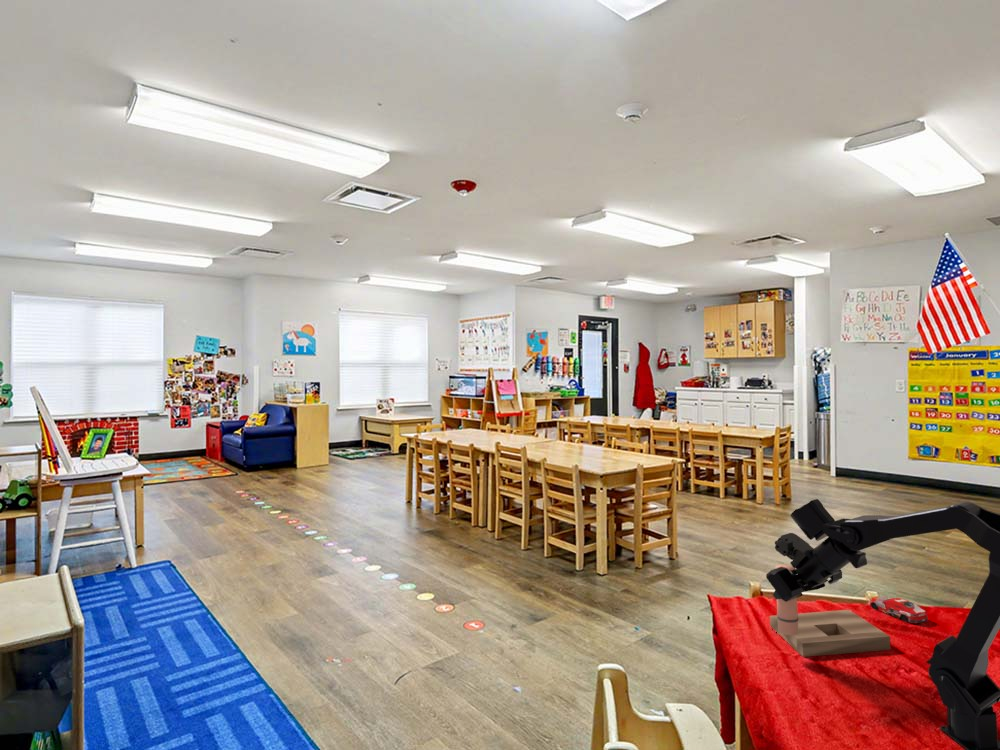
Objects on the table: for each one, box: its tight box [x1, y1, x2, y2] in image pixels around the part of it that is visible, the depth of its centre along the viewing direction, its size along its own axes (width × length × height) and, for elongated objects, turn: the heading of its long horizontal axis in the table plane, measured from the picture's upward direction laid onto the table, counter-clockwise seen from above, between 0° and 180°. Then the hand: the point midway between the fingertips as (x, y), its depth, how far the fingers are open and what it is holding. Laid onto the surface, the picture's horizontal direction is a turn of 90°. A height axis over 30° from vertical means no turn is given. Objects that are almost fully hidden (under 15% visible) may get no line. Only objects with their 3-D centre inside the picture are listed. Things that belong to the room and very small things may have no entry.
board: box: [769, 609, 891, 658], centre depth 136 cm, size 14×20×3 cm
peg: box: [774, 564, 799, 635], centre depth 128 cm, size 4×4×14 cm
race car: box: [869, 596, 929, 624], centre depth 146 cm, size 13×5×4 cm, turn 18°
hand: (780, 594), depth 129 cm, fingers closed on peg, 4 cm apart
